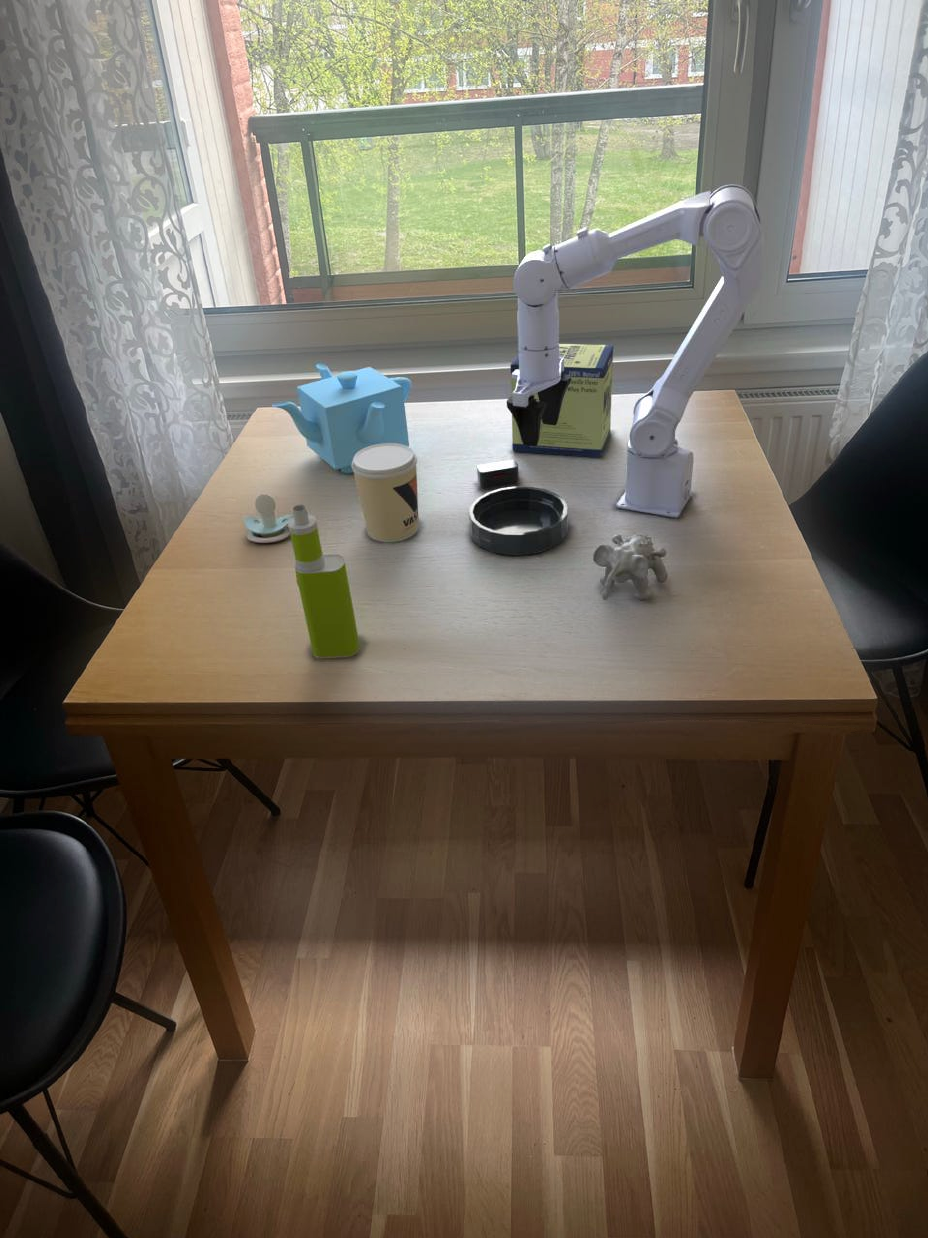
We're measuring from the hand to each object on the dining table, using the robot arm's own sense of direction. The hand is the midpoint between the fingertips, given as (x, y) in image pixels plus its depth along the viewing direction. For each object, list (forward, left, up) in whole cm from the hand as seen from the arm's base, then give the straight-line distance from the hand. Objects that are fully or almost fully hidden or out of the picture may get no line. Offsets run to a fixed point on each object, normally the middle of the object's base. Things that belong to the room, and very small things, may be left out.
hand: (540, 434), depth 134 cm
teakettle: (+36, -2, -11) cm, 38 cm away
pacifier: (+34, +25, -11) cm, 44 cm away
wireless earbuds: (+8, -2, -11) cm, 13 cm away
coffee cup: (+17, +17, -11) cm, 26 cm away
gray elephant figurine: (-21, +21, -11) cm, 32 cm away
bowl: (-1, +11, -10) cm, 15 cm away
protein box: (+4, -19, -11) cm, 22 cm away
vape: (+9, +45, -11) cm, 47 cm away
